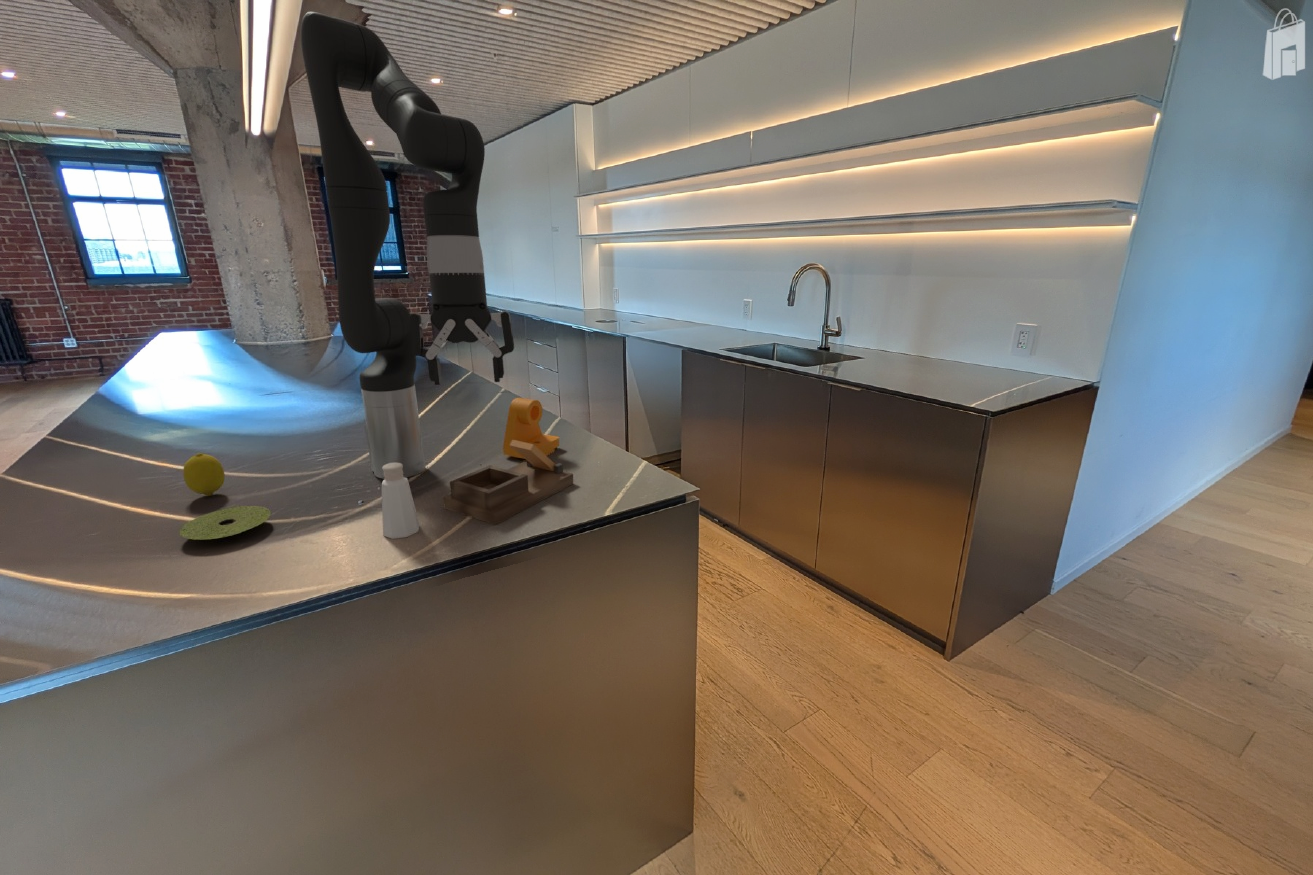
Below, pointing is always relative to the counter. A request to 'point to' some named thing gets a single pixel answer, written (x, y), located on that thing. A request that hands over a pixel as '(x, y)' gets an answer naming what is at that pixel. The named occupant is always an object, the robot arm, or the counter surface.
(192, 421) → the counter surface
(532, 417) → the bracket
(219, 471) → the lemon
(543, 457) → the tan flat block
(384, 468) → the salt shaker
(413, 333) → the robot arm
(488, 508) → the brown open tray piece
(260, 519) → the green abrasive disc
